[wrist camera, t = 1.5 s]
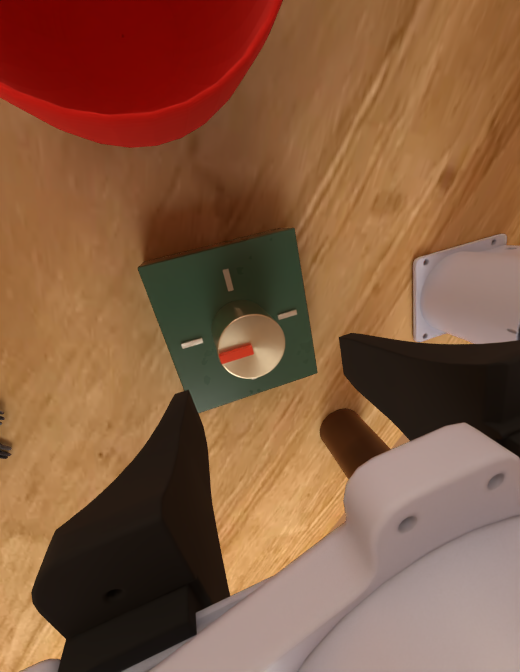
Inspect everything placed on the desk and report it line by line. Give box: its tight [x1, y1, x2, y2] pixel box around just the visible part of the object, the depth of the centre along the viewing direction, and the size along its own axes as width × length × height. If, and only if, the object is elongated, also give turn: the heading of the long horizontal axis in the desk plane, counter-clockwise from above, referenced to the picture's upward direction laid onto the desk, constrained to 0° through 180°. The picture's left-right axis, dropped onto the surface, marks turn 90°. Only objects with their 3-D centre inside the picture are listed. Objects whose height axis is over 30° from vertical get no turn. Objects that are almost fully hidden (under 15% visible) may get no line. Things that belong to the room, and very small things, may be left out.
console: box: [138, 228, 317, 413], centre depth 21 cm, size 10×11×3 cm
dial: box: [212, 300, 285, 379], centre depth 18 cm, size 4×4×4 cm
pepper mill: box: [320, 409, 391, 479], centre depth 25 cm, size 4×4×10 cm
